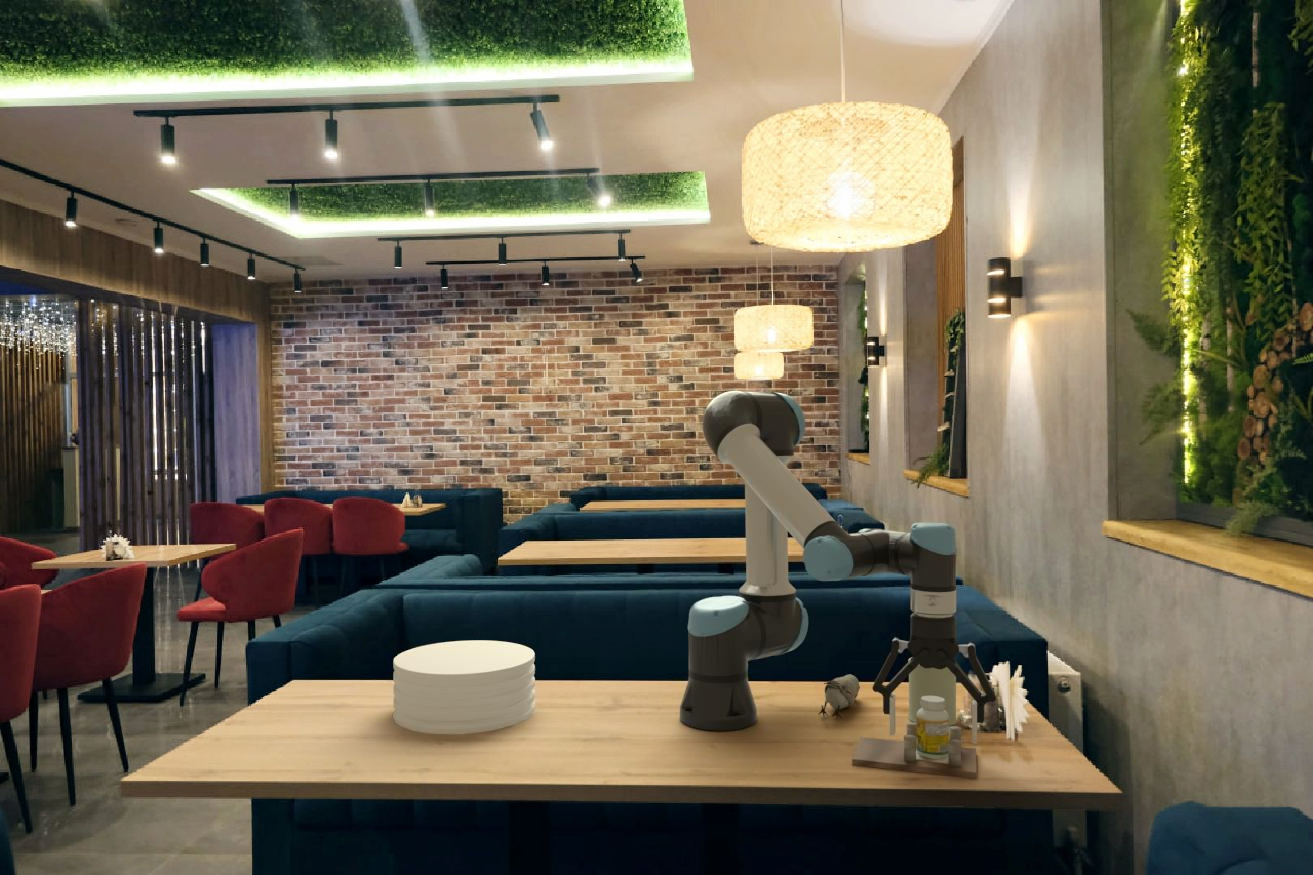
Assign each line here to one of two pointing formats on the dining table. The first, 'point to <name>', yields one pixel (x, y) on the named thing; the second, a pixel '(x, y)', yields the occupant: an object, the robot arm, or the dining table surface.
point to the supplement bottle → (932, 728)
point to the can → (932, 690)
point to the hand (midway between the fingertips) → (933, 737)
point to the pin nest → (916, 755)
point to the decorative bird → (841, 693)
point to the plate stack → (463, 686)
